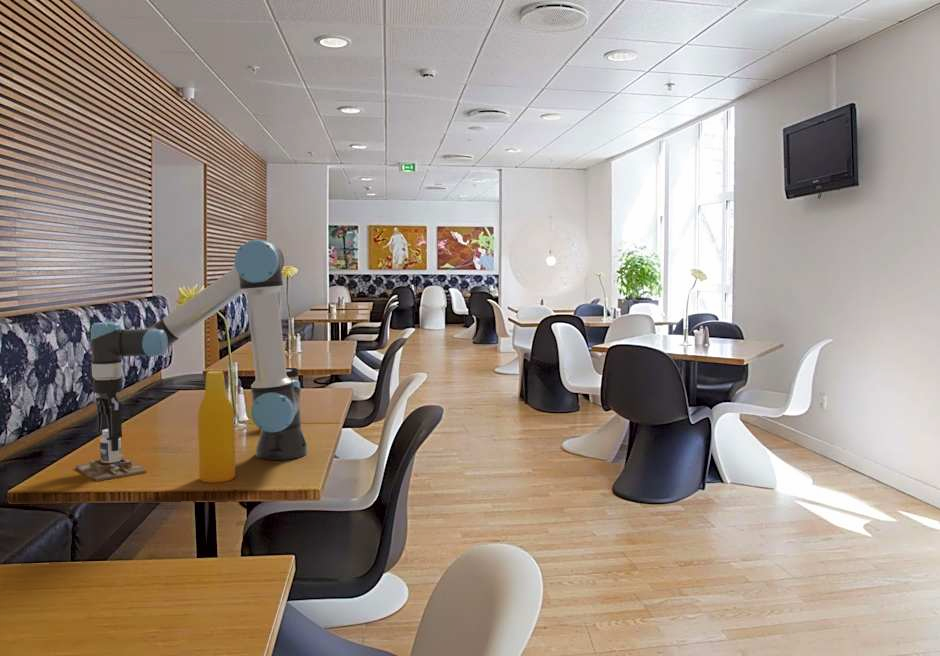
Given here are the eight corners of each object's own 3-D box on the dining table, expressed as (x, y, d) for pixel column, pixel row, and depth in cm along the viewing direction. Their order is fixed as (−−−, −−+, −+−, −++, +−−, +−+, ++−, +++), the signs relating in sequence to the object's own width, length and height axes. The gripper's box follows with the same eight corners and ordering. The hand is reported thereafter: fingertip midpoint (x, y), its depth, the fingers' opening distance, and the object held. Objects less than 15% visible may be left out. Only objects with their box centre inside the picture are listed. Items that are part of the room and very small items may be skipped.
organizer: (146, 472, 211) (145, 463, 210) (96, 481, 202) (96, 471, 202) (123, 460, 224) (123, 451, 224) (75, 468, 215) (75, 459, 215)
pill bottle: (97, 461, 213) (96, 429, 212) (117, 457, 216) (115, 427, 216) (104, 464, 209) (103, 432, 208) (124, 461, 213) (122, 429, 212)
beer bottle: (195, 483, 200) (192, 374, 198) (204, 474, 209) (201, 369, 207) (231, 482, 201) (228, 374, 198) (238, 473, 210) (236, 369, 208)
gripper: (133, 380, 207) (136, 463, 208) (110, 373, 220) (113, 452, 222) (104, 382, 202) (107, 468, 203) (82, 375, 215) (86, 456, 217)
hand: (110, 459), depth 213 cm, fingers closed on pill bottle, 5 cm apart
